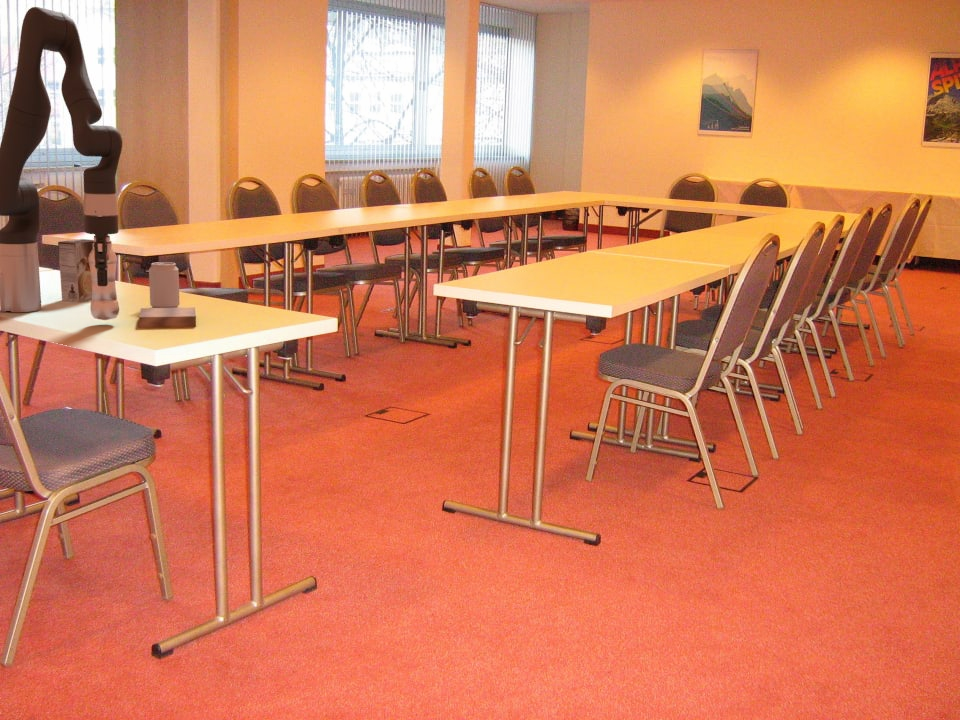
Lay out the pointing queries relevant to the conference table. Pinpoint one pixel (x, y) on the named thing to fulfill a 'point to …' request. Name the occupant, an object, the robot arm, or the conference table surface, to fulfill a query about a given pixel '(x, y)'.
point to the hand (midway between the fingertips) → (103, 283)
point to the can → (164, 285)
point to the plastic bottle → (104, 289)
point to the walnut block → (167, 317)
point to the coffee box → (75, 269)
